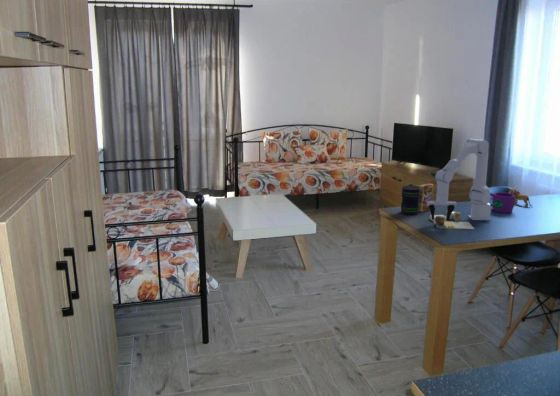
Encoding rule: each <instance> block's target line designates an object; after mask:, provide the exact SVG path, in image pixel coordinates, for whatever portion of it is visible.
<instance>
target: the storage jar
mask: <svg viewBox="0 0 560 396" xmlns="http://www.w3.org/2000/svg"><path fill="white" fill-rule="evenodd" d="M419 198H420V187H418V185H403V186H402V187H401V203H400V214H401V215H403V214H404V215H403V216H408V215H410V217H412V216H411V215H415V216H418V215H419ZM417 214H418V215H417Z"/></svg>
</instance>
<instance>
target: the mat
mask: <svg viewBox="0 0 560 396" xmlns="http://www.w3.org/2000/svg"><path fill="white" fill-rule="evenodd" d="M432 222H433V223H434V225H435V221H432ZM435 227H436V228H437V229H447V230H448V229H451V230H452V229H453V230H458V229H459V230H475V227H474V226H472V224H471V223H470V222H469V221H460V222H455V221H450V220H448V221H447V220H446V221H445V222H444V225H443V226H438V225H435Z"/></svg>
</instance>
